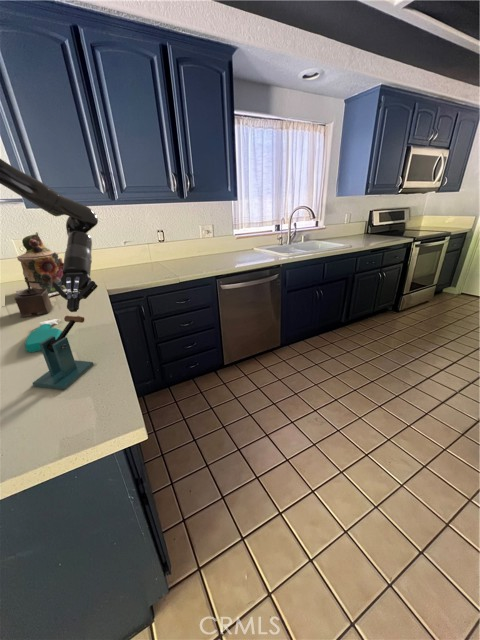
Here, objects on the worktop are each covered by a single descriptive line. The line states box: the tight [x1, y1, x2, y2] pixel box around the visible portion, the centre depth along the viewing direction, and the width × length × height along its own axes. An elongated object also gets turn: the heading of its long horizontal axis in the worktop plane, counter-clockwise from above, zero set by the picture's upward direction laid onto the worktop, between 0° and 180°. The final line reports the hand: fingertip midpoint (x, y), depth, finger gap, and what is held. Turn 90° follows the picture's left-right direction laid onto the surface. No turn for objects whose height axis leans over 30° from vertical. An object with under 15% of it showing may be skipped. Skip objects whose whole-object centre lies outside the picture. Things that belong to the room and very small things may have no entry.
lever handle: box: [46, 315, 86, 352], centre depth 78 cm, size 12×6×2 cm, turn 170°
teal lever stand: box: [32, 336, 94, 391], centre depth 76 cm, size 12×10×12 cm
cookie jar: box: [15, 231, 67, 298], centre depth 145 cm, size 25×25×32 cm
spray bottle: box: [24, 318, 63, 353], centre depth 101 cm, size 3×11×24 cm
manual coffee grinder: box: [14, 274, 53, 318], centre depth 121 cm, size 16×11×18 cm
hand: (72, 311), depth 80 cm, fingers closed
